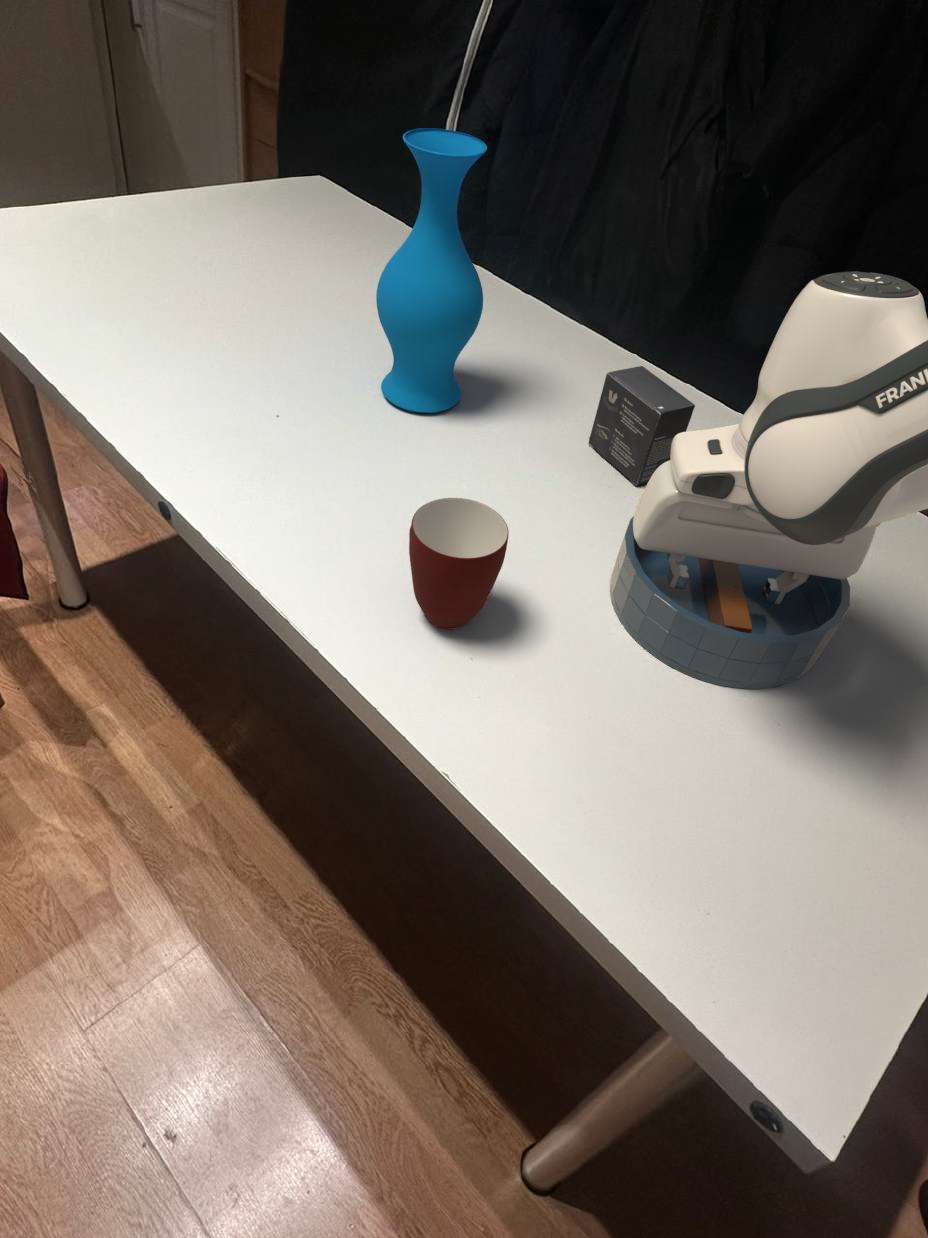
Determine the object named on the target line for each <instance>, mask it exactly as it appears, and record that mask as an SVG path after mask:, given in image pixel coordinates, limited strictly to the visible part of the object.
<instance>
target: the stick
mask: <svg viewBox="0 0 928 1238" xmlns="http://www.w3.org/2000/svg"><path fill="white" fill-rule="evenodd" d="M698 561H699V567H700V572H701V578H702V583H703V589H704V595H705V600H706V606H707V611H708V617H709V622H711V623H714V624H718V625H721V626H724V627H727V628H730V629H733V630H736V631H739V632H745V633H751V631H752V624H751V620H750V616H749V611H748V607H747V603H746V598H745V594H744V590H743V585H742V581H741V577H740V572H739V568H738V564H736V563H730V562H723V561H716V560H710V559H703V558H698Z"/></svg>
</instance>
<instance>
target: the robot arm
mask: <svg viewBox="0 0 928 1238" xmlns="http://www.w3.org/2000/svg"><path fill="white" fill-rule="evenodd" d="M789 307H790V308H789V309H788V311H787V313H786V314H785V316H784V318H783V320H782V322H781V324H780V326H779V328H778V330H777V332H776V334H775V336H774V338H773V341H772V343H771V345H770V347H769V350H768V352H767V354H766V356H765V359H764V362H763V364H762V367H761V369H760V372H759V375H758V383H757V391H756V395H755V398H754V400H753V401H752V403H751V404H750V405H749V407H748V408H747V409H746V411H744V413H743V415H742V417H741V418H740V421H739V423H735V424H734V423H733V424H730V425H725V426H719V427H713V428H706V429H705V428H704V429H695V430H686V432H682V433H679V434H677V435H676V436H675V437H674V439H673V441H672V444H671V452H670V459H671V460H669V461H667V462H665V463H663V464H662V465H660V466H659V467H658V468H657V469H656V471H655V472H654V473H653V475H652V476H651V478H650V480H649V482H647V484H646V485H645V488H644V489H643V492H642V493H641V496H640V499H639V501H638V503H637V505H636V509H635V511H634V514H633V516H634V518H633V533H634V538H635V540H636V542H637V544H638V545H639V547H640V548H641V549H644V550H651V551H657V552H664V553H667V557H668V562H669V565H670V570H669V572H668V576H667V583H668V587H670V588H676V589H683V590H684V589H685V587H686V586H685V584H686V583H687V582H688V579H689V573H688V572H687V571H688V568H687V565H682V564H679V562H683V561H684V559H685V556H690V557H697V558H703V559H710V560H716V561H723V562H730V563H736V564H742V565H749V566H756V567H762V568H769V569H775V570H782V571H785V572H784V573H783V574H781V575H780V576H779V577H777V578H776V579H774V578H767V580H766V582H765V586H763V588H762V591H761V595H762V597H763V601H764V602H769V603H775V604H780V603H781V601H782V599H783V597H784V596H785V594H786V592H789V591H791V590H793V589H794V588H796V587H798V586H799V585H801V584H803V583H804V582H806V580H807V578H808V577H809V575H814V576H821V577H827V578H834V579H841V580H842V579H846V578H847V579H848V578H851V577H852V576H853V575H855V574H857V573H858V572H859V570H860V569H861V568H862V565H863V563H864V561H865V560H866V557H867V554H868V553H869V550H870V548H871V545H872V543H873V540H874V537H875V533H876V530H877V528H878V527H880V525H881V524H882V523H886V522H889V521H893V520H896V519H899V518H903V517H906V516H909V515H910V516H911V515H912V514H915V513H918V512H921V511H925V510H928V316H927V312H926V305H925V300H924V296H923V294H922V293H921V291H920V290H919V289H918V288H917V287H915V286H913V285H912V284H911V283H910V282H908V281H906V280H903V279H901V278H899V277H895V276H892V275H887V274H883V273H877V272H872V271H871V272H863V271H859V270H856V271H841V272H833V273H828V274H824V275H819V276H818V277H816V278H814V279H812V280H810V281H809V282H808V283H807V284H806V285H805V287H804V288H802V290H801V291H800V292H799V294H797V296H796V298H795V299H794V301H793V302H792V304H791V306H789Z"/></svg>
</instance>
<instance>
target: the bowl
mask: <svg viewBox="0 0 928 1238" xmlns="http://www.w3.org/2000/svg"><path fill="white" fill-rule="evenodd" d="M633 518H634V515H633V516H632V517H631V518H630V520H629V522H628V525H627V527H626V531H625V533H624V536H623V539H622V541H621V542H622V543H621V545H620V548H619V552H618V554H617V557H616V560H615V563H614V566H613V569H612V572H611V576H610V581H609V595H610V601H611V605H612V606H613V610H614V612H615V614H616V616H617V618H618V620H619V622H620V623H621V624H622V626H623V628H624V629H625V631H627V633H628V634H629V635H630V636H631V637H632V639H633V640H634V641H636V643H638V644H639V645H640V646H641V647H642V648H643V649H644V650H645V651H646V652H648V653H649V654H651V655H652V656H653V657H654V658H656V659H657V660H659V661H661V662H662V663H664V664H665V665H667V666H669V667H670V668H672V669H674V670H676V671H678V672H680V673H683V674H685V675H687V676H690V677H692V678H694V679H697V680H699V681H703V682H707V683H710V684H713V685H717V686H722V687H728V688H736V689H743V690H746V689H749V690H752V689H754V690H755V689H756V690H758V689H760V690H761V689H768V688H774V687H778V686H782V685H786V684H788V683H791V682H793V681H795V680H797V679H799V678H801V677H802V676H804V675H805V674H806V673H807V672H808V671H810V670H811V669H812V668H813V666H814V665H815V664H816V663H817V662H818V660H819V659H820V657H821V655H822V654H823V652H824V651H825V649H826V647H827V646H828V644H829V643H830V641H831V640H832V638H833V636H834V635H835V633H836V631H837V630H838V629H839V628H840V626H841V624H842V622H843V620H844V618H845V616H846V615H847V612H848V611H849V608H850V606H851V586H850V583H849V580H848V578H846V579H842V580H841V579H834V578H827V577H821V576H814V575H809V577H808V578H807V580H806V582H804V583H803V584H801V585H799V586H798V587H796V588H794V589H793V590H791V591H789V592H786V594H785V596H784V597H783V599H782V601H781V603H780V604H775V603H769V602H764V601H763V597H762V595H761V591H762V588H763V586H765V582H766V580H767V578H774V579H776V578H777V577H779V576H780V575H781V574H783V573H784V572H785V571H782V570H775V569H769V568H762V567H756V566H749V565H742V564H738V568H739V572H740V577H741V581H742V585H743V590H744V594H745V598H746V603H747V607H748V611H749V616H750V620H751V624H752V631H751V633H745V632H739V631H736V630H733V629H730V628H727V627H724V626H721V625H718V624H714V623H711V622H709V617H708V611H707V606H706V600H705V595H704V589H703V583H702V578H701V572H700V567H699V561H698V558H697V557H690V556H685V559H684V561H683V562H679V564H682V565H687V568H688V571H687V572H688V573H689V579H688V582H687V583H686V584H685V586H686V587H685V589H684V590H683V589H676V588H670V587H668V583H667V576H668V572H669V570H670V565H669V562H668V557H667V553H664V552H657V551H651V550H644V549H641V548H640V547H639V545H638V544H637V542H636V540H635V538H634V533H633Z"/></svg>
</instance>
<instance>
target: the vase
mask: <svg viewBox="0 0 928 1238" xmlns="http://www.w3.org/2000/svg"><path fill="white" fill-rule="evenodd" d="M402 140H403V142H404V143H405V145H406V146H407V148H408V149H409V151H410V153H411V154H412V155H413V158H414V159H415V160H414V161H415V162H416V164H417V167H418V170H419V173H420V174H419V175H420V180H421V198H420V207H419V211H418V215H417V218H416V220H415V223H414V225H413V227H412V229H411V231H410V233H408V236H407V237H406V239H405V240H404V242H403V243H402V244H401V246H399V248H398V249H397V250H396V251H395V252H394V254H392V256H391V258H390V259H389V260H388V261H387V263H386V265H385V266H384V268H383V270H382V272H381V274H380V277H379V279H378V283H377V287H376V297H375V298H376V299H375V300H376V301H375V302H376V310H377V315H378V319H379V322H380V325H381V327H382V329H383V330H382V331H383V332H384V335H385V336H386V339H387V341H388V343H389V346H390V348H391V352H392V357H393V362H392V367H391V370H390V371H389V372H388V373H387V374H386V375H385V376H384V378H383V379H382V381H381V384H380V390H381V392H382V395H383V396H384V397H385V398H386V399H387V400H388V401H389V402H391V403H392V404H393V405H394V406H396V407H398V408H400V409H403V410H405V411H409V412H413V413H421V414H432V413H433V414H434V413H440V412H443V411H446V410H448V409H450V408H453V407H454V406H455V405H457V404H458V402H459V401H460V400H461V397H462V390H461V387H460V385H459V383H458V381H457V380H456V378H455V373H454V372H455V366H456V365H455V364H456V363H457V360H458V358H459V356H460V354H461V353H462V351H463V350H464V348H466V346H467V344H468V343H469V341H470V340H471V338H472V337H473V335H474V334H475V332H476V330H477V329H478V326H479V323H480V320H481V317H482V313H483V310H484V309H483V308H484V291H483V286H482V283H481V282H482V281H481V279H480V276H479V273H478V270H477V269H476V267H475V264H474V263H473V261H472V259H471V258H470V257H471V256H470V255H469V254H468V251H467V250H466V247H465V244H464V242H463V239H462V236H461V233H460V229H459V223H458V203H459V196H460V191H461V187H462V184H463V182H464V179H465V177H466V176H467V173H468V172H469V170H470V168H472V166H473V165H474V164H475V162H476V161H478V159H480V158H481V157H482V156H483V155H484V154H485V153H486V152H487V150H488V146H487V144H486V143H485V142H484V141H482V139H479V138H478V137H475V136H473V135H472V134H471V135H470V134H468V133H464V132H460V131H457V130H451V129H445V128H436V127H435V128H432V127H424V128H422V127H421V128H416V129H411V130H408V131H406V132H405V133H403V135H402Z"/></svg>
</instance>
